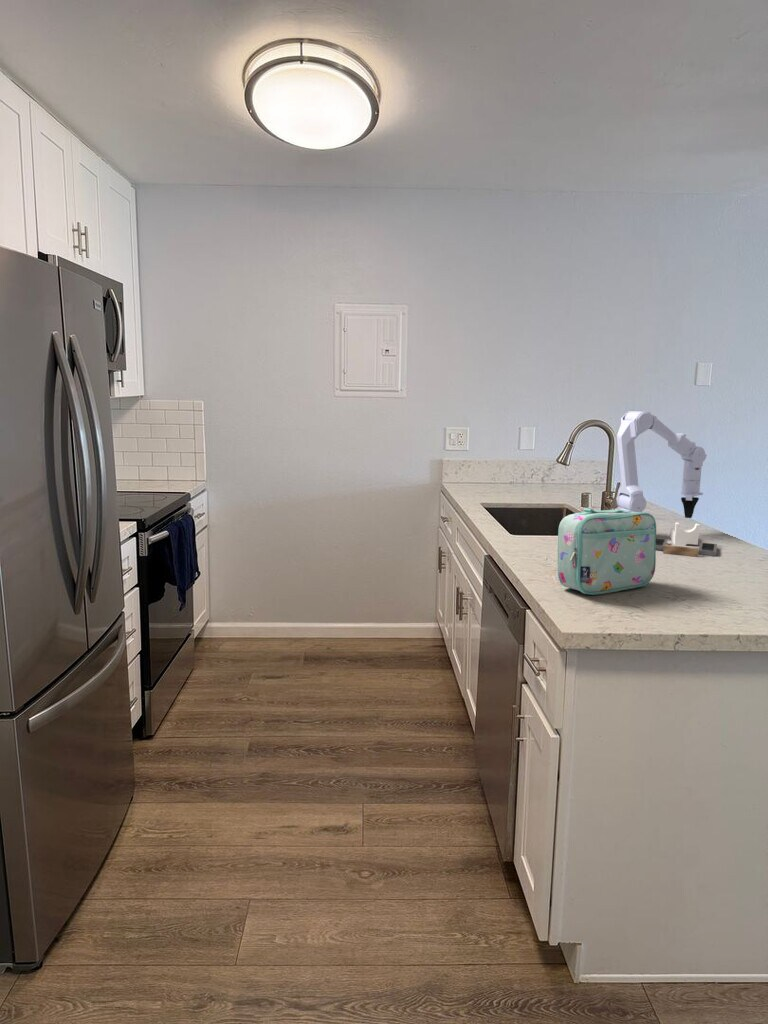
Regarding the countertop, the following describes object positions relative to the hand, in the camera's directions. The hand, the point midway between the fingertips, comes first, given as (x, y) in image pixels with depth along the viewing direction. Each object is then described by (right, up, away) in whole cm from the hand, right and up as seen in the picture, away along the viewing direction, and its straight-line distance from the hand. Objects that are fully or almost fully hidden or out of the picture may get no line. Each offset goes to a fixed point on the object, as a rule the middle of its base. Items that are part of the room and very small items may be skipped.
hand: (688, 517), depth 238 cm
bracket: (-6, -9, -9) cm, 14 cm away
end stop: (-15, -11, -28) cm, 34 cm away
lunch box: (-51, -18, -65) cm, 85 cm away
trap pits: (-11, -10, -20) cm, 25 cm away
